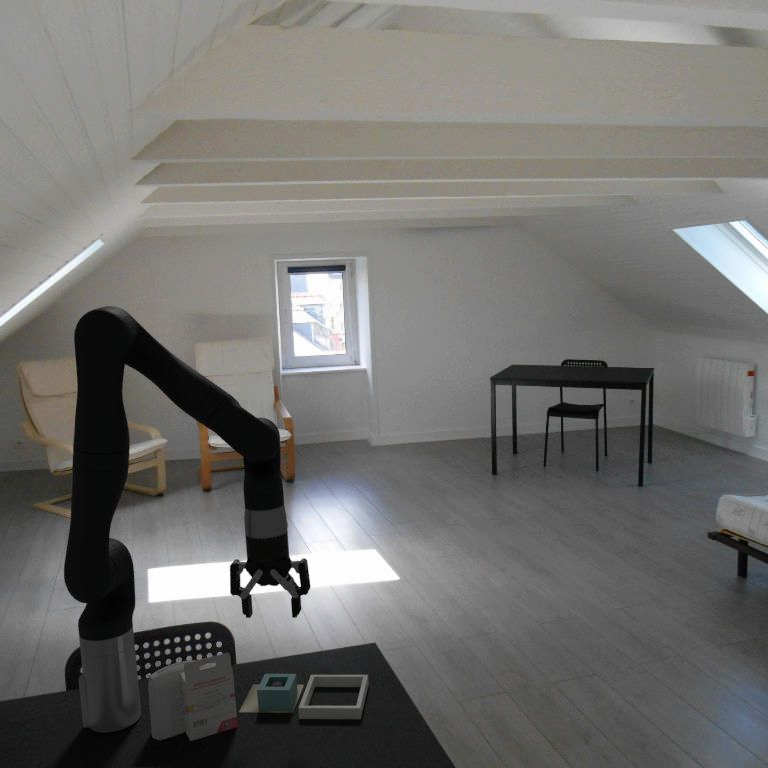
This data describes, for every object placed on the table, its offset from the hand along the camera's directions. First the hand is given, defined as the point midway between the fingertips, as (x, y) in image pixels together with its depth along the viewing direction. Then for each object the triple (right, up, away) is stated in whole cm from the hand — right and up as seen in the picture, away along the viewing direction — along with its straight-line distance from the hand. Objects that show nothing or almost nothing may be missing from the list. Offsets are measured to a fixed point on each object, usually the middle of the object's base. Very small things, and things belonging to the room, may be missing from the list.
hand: (272, 616), depth 145 cm
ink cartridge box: (-10, -19, -5) cm, 22 cm away
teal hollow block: (+1, -17, +2) cm, 17 cm away
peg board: (0, -17, +4) cm, 18 cm away
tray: (+11, -17, +2) cm, 21 cm away
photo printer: (-15, -19, -4) cm, 25 cm away
